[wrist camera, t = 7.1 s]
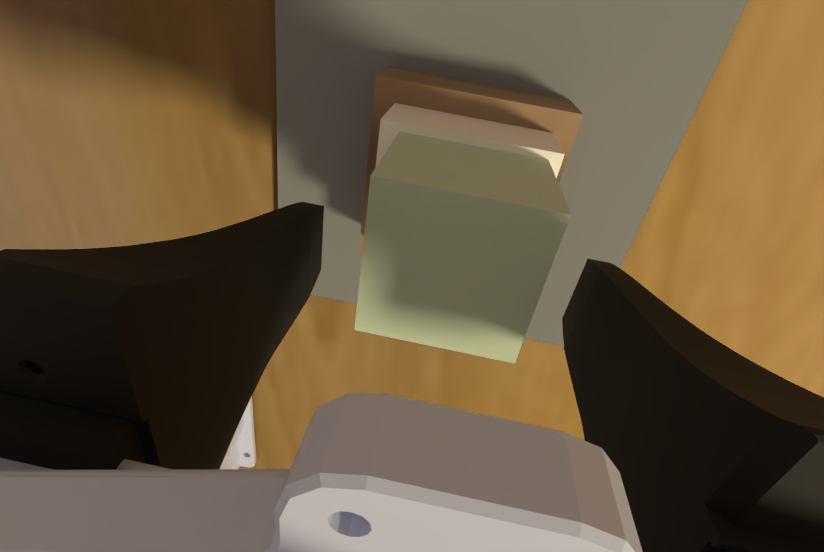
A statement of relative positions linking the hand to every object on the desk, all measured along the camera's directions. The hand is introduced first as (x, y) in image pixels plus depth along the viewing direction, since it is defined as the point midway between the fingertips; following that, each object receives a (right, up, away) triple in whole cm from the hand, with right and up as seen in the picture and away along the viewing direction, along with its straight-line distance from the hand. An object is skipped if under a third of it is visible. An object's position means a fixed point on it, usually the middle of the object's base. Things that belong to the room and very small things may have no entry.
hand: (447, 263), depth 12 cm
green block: (0, +2, +2) cm, 3 cm away
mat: (+1, +4, +7) cm, 8 cm away
